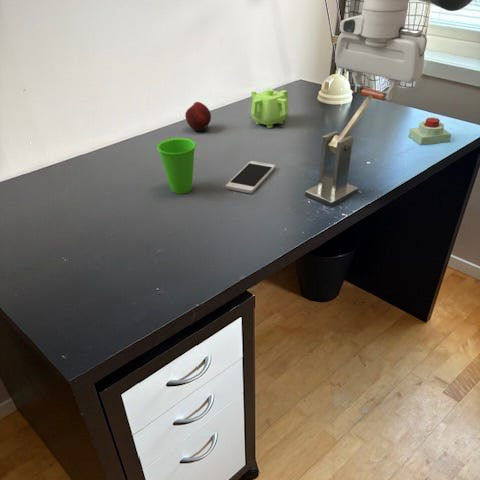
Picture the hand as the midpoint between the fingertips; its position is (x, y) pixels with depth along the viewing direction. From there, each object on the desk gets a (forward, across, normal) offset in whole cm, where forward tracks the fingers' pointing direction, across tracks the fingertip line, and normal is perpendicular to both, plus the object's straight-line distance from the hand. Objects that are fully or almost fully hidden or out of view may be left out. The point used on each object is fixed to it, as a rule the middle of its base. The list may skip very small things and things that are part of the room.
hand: (372, 96), depth 106 cm
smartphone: (+19, +20, +19) cm, 34 cm away
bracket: (+19, 0, +12) cm, 23 cm away
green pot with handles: (+20, +44, -12) cm, 50 cm away
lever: (+5, 0, +5) cm, 7 cm away
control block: (+20, +1, -34) cm, 39 cm away
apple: (+19, +55, +7) cm, 59 cm away
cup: (+19, +28, +35) cm, 49 cm away
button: (+17, +1, -34) cm, 38 cm away
